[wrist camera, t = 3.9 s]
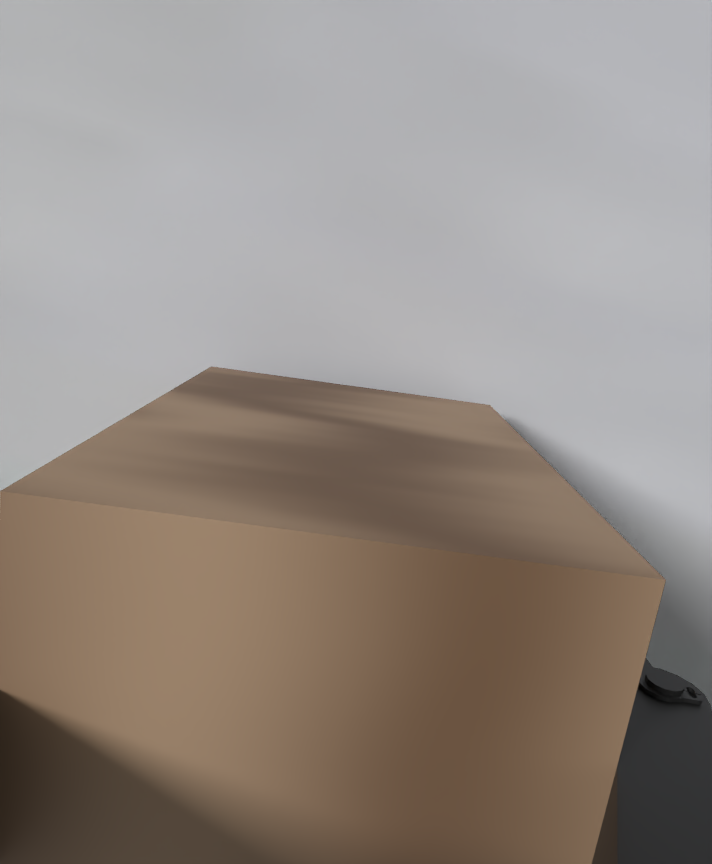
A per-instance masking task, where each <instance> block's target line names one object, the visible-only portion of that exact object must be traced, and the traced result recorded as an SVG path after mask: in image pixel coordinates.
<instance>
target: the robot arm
mask: <svg viewBox="0 0 712 864" xmlns="http://www.w3.org/2000/svg"><path fill="white" fill-rule="evenodd" d="M592 864H712V711H711V706H710V704H709V702H708V700H707V698H706V697H705V695H704V694H703V693H702V692H701V691H700V690H699V689H697V688H696V687H695V686H694V685H693V684H691V683H689V682H688V681H686V680H684V679H682V678H681V677H679V676H677V675H675V674H672V673H669V672H667V671H664V670H662V669H658V668H653V667H652V666H651V664H650V663H649V662H648V660H647V659H646V658H645V661H644V665H643V669H642V673H641V677H640V681H639V684H638V688H637V692H636V696H635V700H634V704H633V707H632V711H631V715H630V719H629V723H628V726H627V730H626V734H625V738H624V742H623V746H622V749H621V753H620V757H619V761H618V765H617V768H616V772H615V776H614V780H613V784H612V788H611V791H610V795H609V799H608V803H607V807H606V811H605V814H604V818H603V822H602V826H601V830H600V833H599V837H598V841H597V845H596V849H595V853H594V856H593V860H592Z"/></svg>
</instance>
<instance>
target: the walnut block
mask: <svg viewBox="0 0 712 864" xmlns="http://www.w3.org/2000/svg"><path fill="white" fill-rule="evenodd" d="M665 581H666V580H665V579H664V578H663V577H662V576H661V575H660V574H659V573H658V572H657V571H656V570H655V569H654V568H653V567H652V566H651V565H650V564H649V563H648V562H647V561H646V560H645V559H644V558H643V557H642V556H641V555H640V554H639V553H638V552H637V551H636V550H635V549H634V548H633V547H632V546H631V545H630V544H629V543H628V542H627V541H626V540H625V539H624V538H623V537H622V536H621V535H620V534H619V533H618V532H617V531H616V530H615V529H614V528H613V527H612V526H611V525H610V524H609V523H608V522H607V521H606V520H605V519H604V518H603V517H602V516H601V515H600V514H599V513H598V512H597V511H596V510H595V509H594V508H593V507H592V506H591V505H590V504H589V503H588V502H587V501H586V500H585V499H584V498H583V497H582V496H581V495H580V494H579V493H578V492H577V491H576V490H575V489H574V488H573V487H572V486H571V485H570V484H569V483H568V482H567V481H566V480H565V479H564V478H563V477H562V476H561V475H560V474H559V473H558V472H557V471H556V470H555V469H554V468H553V467H552V466H551V465H550V464H549V463H548V462H547V461H546V460H545V459H544V458H543V457H541V456H540V455H539V454H538V453H537V452H536V451H535V450H534V449H533V448H532V447H531V446H530V445H529V444H528V443H527V442H526V441H525V440H524V439H523V438H522V437H521V436H520V435H519V434H518V433H517V432H516V431H515V430H514V429H513V428H512V427H511V426H510V425H509V424H508V423H507V422H506V421H505V420H504V419H503V418H502V417H501V416H500V415H499V414H498V413H497V412H496V411H495V410H494V409H493V408H492V407H491V406H490V405H485V404H478V403H470V402H463V401H456V400H449V399H442V398H434V397H427V396H420V395H413V394H405V393H398V392H391V391H384V390H377V389H369V388H362V387H355V386H348V385H340V384H333V383H326V382H319V381H312V380H304V379H297V378H290V377H283V376H276V375H268V374H261V373H254V372H247V371H239V370H232V369H225V368H218V367H210V368H208V369H206V370H205V371H203V372H201V373H200V374H198V375H196V376H195V377H193V378H191V379H190V380H188V381H186V382H184V383H183V384H181V385H179V386H178V387H176V388H174V389H173V390H171V391H169V392H168V393H166V394H164V395H162V396H161V397H159V398H157V399H156V400H154V401H152V402H151V403H149V404H147V405H145V406H144V407H142V408H140V409H139V410H137V411H135V412H134V413H132V414H130V415H129V416H127V417H125V418H123V419H122V420H120V421H118V422H117V423H115V424H113V425H112V426H110V427H108V428H106V429H105V430H103V431H101V432H100V433H98V434H96V435H95V436H93V437H91V438H90V439H88V440H86V441H84V442H83V443H81V444H79V445H78V446H76V447H74V448H73V449H71V450H69V451H68V452H66V453H64V454H62V455H61V456H59V457H57V458H56V459H54V460H52V461H51V462H49V463H47V464H45V465H44V466H42V467H40V468H39V469H37V470H35V471H34V472H32V473H30V474H29V475H27V476H25V477H23V478H22V479H20V480H18V481H17V482H15V483H13V484H12V485H10V486H8V487H7V488H5V489H3V490H1V491H0V864H592V860H593V856H594V853H595V849H596V845H597V841H598V837H599V833H600V830H601V826H602V822H603V818H604V814H605V811H606V807H607V803H608V799H609V795H610V791H611V788H612V784H613V780H614V776H615V772H616V768H617V765H618V761H619V757H620V753H621V749H622V746H623V742H624V738H625V734H626V730H627V726H628V723H629V719H630V715H631V711H632V707H633V704H634V700H635V696H636V692H637V688H638V684H639V681H640V677H641V673H642V669H643V665H644V661H645V658H646V654H647V650H648V646H649V642H650V638H651V635H652V631H653V627H654V623H655V619H656V616H657V612H658V608H659V604H660V600H661V596H662V593H663V589H664V585H665Z"/></svg>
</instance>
